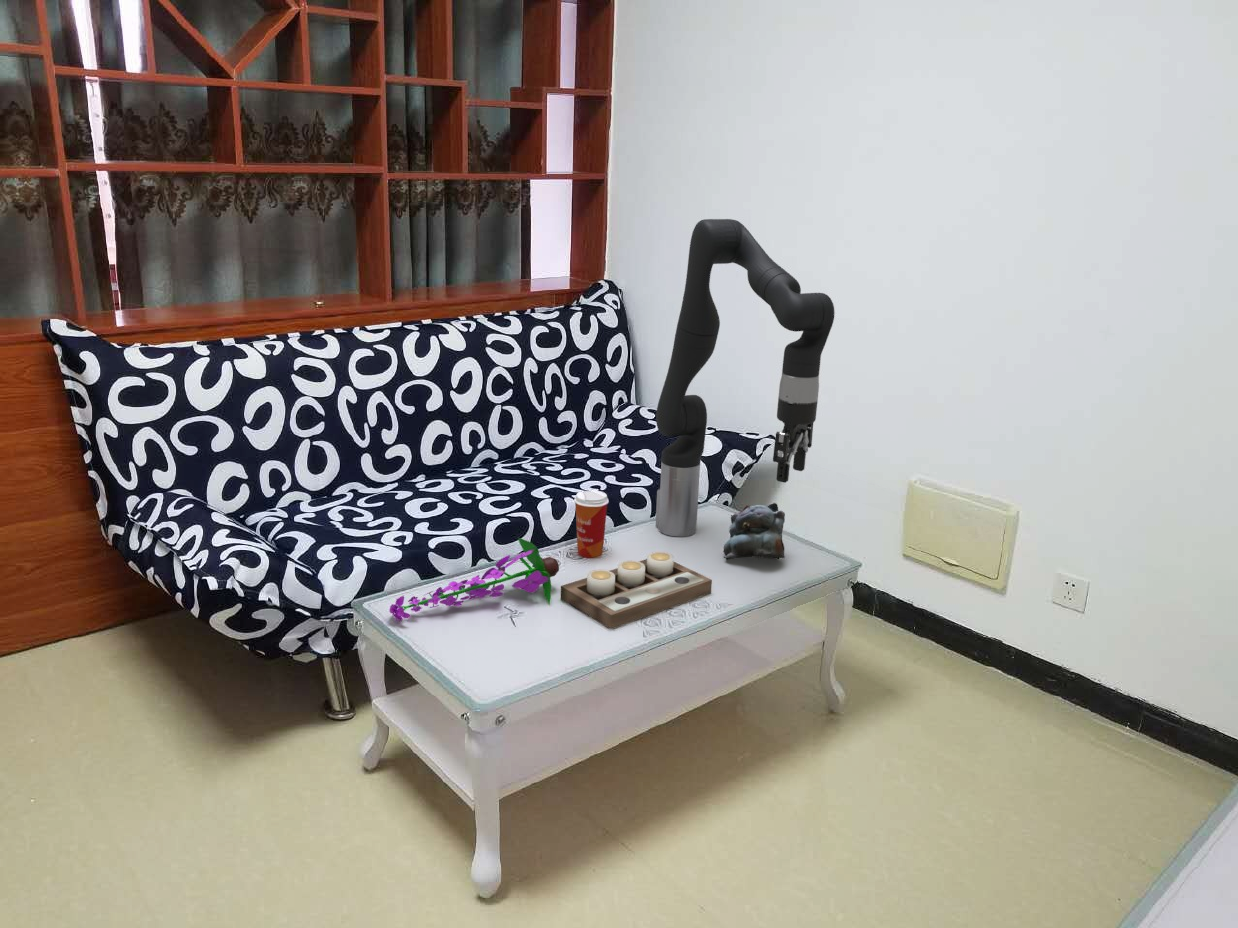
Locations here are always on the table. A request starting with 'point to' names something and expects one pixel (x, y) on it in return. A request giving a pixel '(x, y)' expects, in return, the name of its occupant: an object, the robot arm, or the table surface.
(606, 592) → the button
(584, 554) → the paper cup
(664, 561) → the button
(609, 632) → the table surface
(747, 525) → the lucky cat figurine
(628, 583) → the button mid
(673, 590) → the wooden candle tray
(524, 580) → the purple flower sprig
